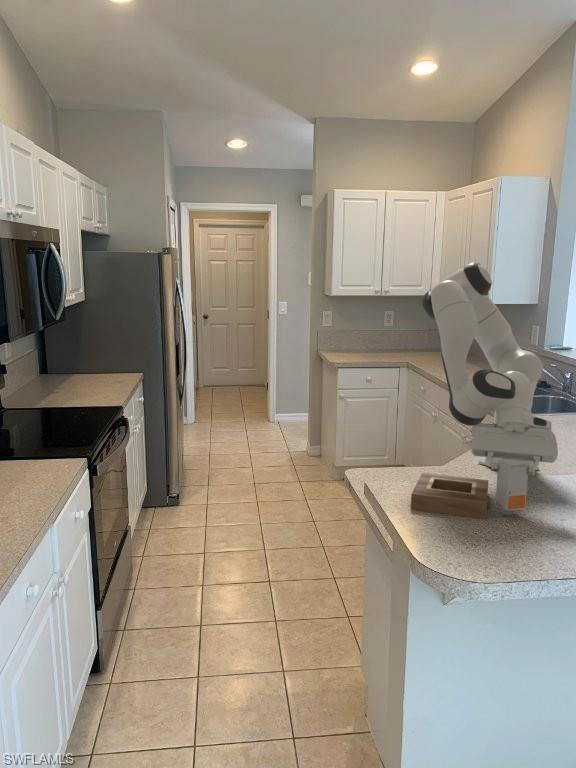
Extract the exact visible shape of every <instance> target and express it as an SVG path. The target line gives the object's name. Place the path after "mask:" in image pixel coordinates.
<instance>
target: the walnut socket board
mask: <svg viewBox="0 0 576 768" xmlns="http://www.w3.org/2000/svg"><path fill="white" fill-rule="evenodd" d="M488 493H489V480H487V479H482V478H481V479H479V478H471V477H462V476H454V475H446V474H438V473H436V474H435V473H428V472H422V473H420V476H419V479H418V480H417V482H416V484H415V486H414V488H413V490H412V492H411V495H410V496H411V497H410V510H414V511H415V510H416V511H422V512H428V513H435V514H443V515H450V516H457V517H465V518H466V517H467V518H473V519H480V520H487V511H488V496H489V494H488Z"/></svg>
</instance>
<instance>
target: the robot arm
mask: <svg viewBox="0 0 576 768" xmlns="http://www.w3.org/2000/svg"><path fill="white" fill-rule="evenodd" d="M492 284H493V283H492V279H491V275H490V272H489V271H488V269H487V268H485V266H483V265H482V264H481V263H478V262H474V261H473V262H469V263H468V264H465V265H463V267H462V268H460V269H458V270H456V271H454V272H452V273H450V274H449V275H447V276H446V277H445V278H444V279H443V280H442V281H440V282H439V283H437V284H436V285H435V286H434V287H433V288H431V289H429V290H428V291H426V292H425V294H424V295H423V296H422V299H421V300H422V301H421V304H422V307H423V310H424V312H425V313H426V315H428V317H429V318H430V319H432V320H434V321H435V322H436V325H437V329H438V332H439V338H440V348H441V349H440V352H441V353H440V354H441V360H442V366H443V371H444V374H445V378H446V384H447V388H448V394H449V400H448V401H449V402H448V408H449V412H450V414H451V415H452V417H453V418H454V419H455V420H456V421H457V422H458V423H460V424H462V425H465V426H469V427H470V426H472V427H471V430H470V431H471V432H470V433H471V437H472V440H471V448H470V451H471V454H472V455H473V456H474V457H475V456H476V457H481V458H480V459H478V464H479V465H483V466H487V467H489V468H491V472H495V473H497V470H498V460H506V459H520V460H523V461H526V462H529V466H528V476H535V475H536V471H540V466H539V465H540V463H549V464H550V463H551V464H553V463H555V462H556V460H557V459H558V456H559V453H558V451H559V450H558V449H559V448H558V441H557V436H556V435H555V433H554V432H553V431H552V430H553V429H552V426H553V425H552V422H551V420H548V419H544V418H541V417H539V416H537V415H534V414H533V413H532V408H533V404H534V403H533V398H534V395H535V391H536V389H537V384H538V381H539V380H540V378H541V377H542V375H543V372H544V371H543V370H544V366H543V362H542V361H541V358H539V356H537V355H536V354H535V353H534V352H532V351H529V350H524V349H522V348H521V347H520V346H519V344H518V342H517V340H516V339H515V336H514V334H513V331H512V330H513V329H512V327H511V325H510V324H509V322H508V321H507V320H506V318H505V317H504V315H503V313H501V311H500V309H499V308H498V307H497V306H496V304H495V303H494V301H493V300H492V299H491V298H490V297H489V292H490V291H491V287H492ZM474 339H475V341H476V343H477V344H478V345H479V347H480V349H481V350H482V352H483V355H484V356H485V358H486V360H487V362H488V364H489V366H490V368H491V369H479V370H477V371H476V372H475V373H474V374H472V376H471V377H470V378H469V373H468V369H467V357H468V353H469V352H470V349H471V346H472V344H473V341H474ZM491 411H494V414H493V415H494V417H493V422H492V423H482V422H483V420H484V419H485V418H486V417H487V415H488V414H489V413H491Z"/></svg>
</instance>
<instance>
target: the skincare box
mask: <svg viewBox="0 0 576 768" xmlns="http://www.w3.org/2000/svg"><path fill="white" fill-rule="evenodd" d="M528 466H529V462H526V461H523V460H520V459H506V460H498V470H497V472H496V489H495V491H496V492H495V507H496V508H498V509H501V510H502V511H505V512H509V511H520V510H521V511H522V510H523V511H524V510H526V509H527V497H528V496H527V495H528V477H529V475H528Z"/></svg>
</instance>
